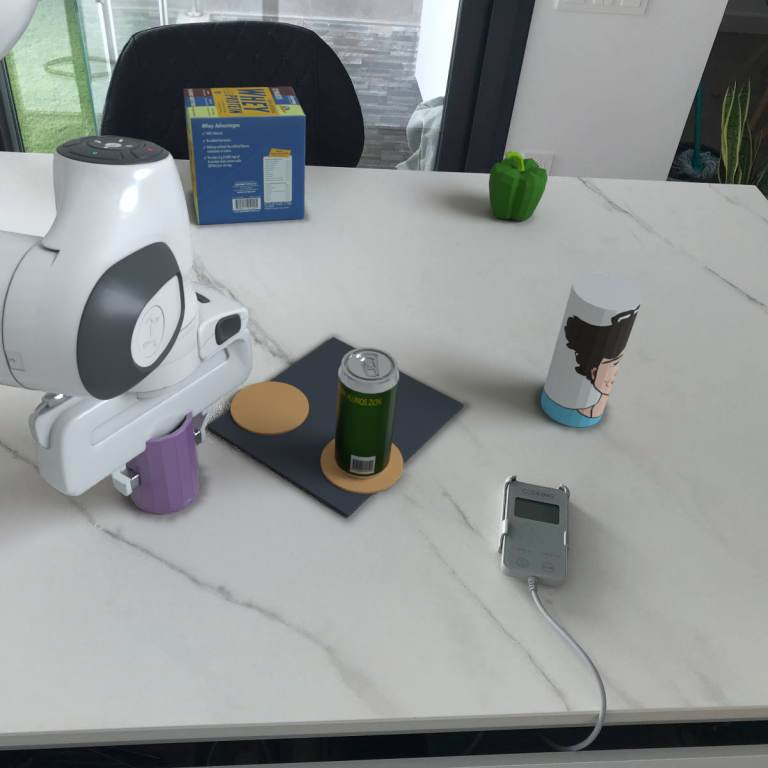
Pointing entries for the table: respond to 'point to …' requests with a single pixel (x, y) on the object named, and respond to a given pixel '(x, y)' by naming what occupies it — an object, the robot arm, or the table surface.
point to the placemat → (325, 427)
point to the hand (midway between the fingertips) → (162, 463)
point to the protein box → (246, 154)
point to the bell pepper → (516, 187)
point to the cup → (589, 347)
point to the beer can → (365, 412)
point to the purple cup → (168, 471)
